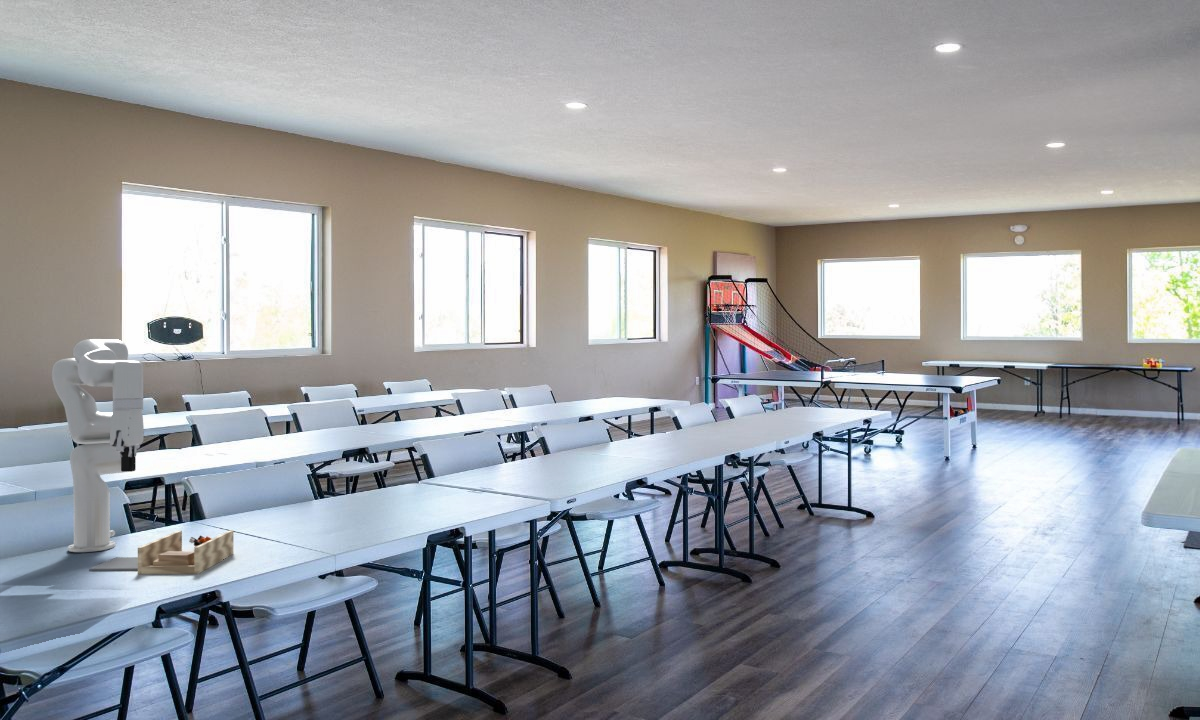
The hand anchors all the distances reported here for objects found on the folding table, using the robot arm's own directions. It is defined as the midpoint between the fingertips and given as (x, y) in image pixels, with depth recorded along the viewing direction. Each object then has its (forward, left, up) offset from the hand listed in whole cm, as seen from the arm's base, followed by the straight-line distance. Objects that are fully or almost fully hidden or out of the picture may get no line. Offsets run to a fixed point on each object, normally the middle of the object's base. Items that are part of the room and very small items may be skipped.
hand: (128, 471), depth 251 cm
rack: (-1, +16, -26) cm, 31 cm away
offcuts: (+6, +16, -26) cm, 31 cm away
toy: (-5, +18, -23) cm, 30 cm away
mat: (0, 0, -26) cm, 26 cm away
